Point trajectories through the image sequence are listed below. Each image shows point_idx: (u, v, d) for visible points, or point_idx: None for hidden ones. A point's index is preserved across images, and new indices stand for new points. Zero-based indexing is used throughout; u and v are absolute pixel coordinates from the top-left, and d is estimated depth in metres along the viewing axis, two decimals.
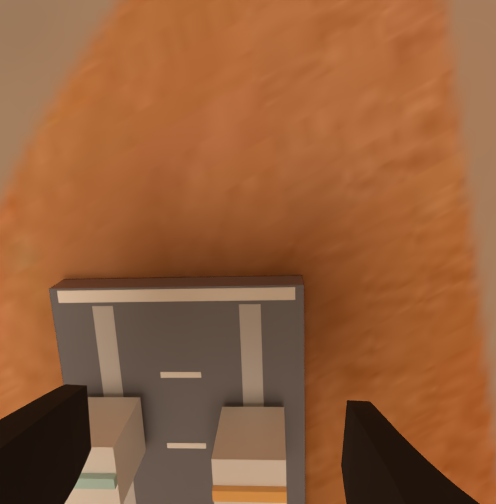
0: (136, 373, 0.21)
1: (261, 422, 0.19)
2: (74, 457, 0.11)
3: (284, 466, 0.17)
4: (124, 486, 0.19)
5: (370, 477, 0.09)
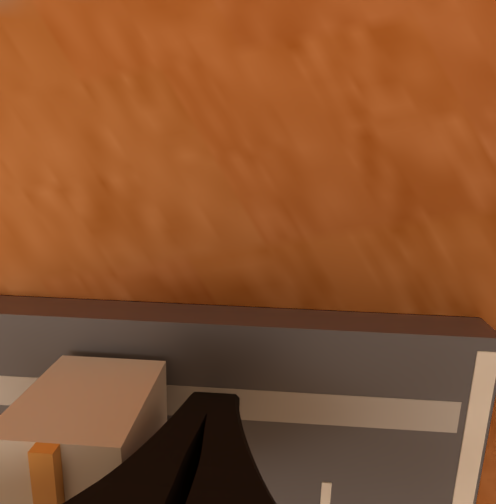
0: None
1: None
2: None
3: None
4: None
5: None
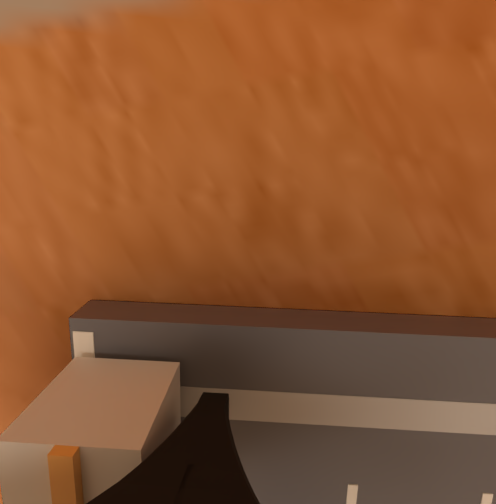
0: None
1: None
2: None
3: (9, 444, 0.09)
4: None
5: None
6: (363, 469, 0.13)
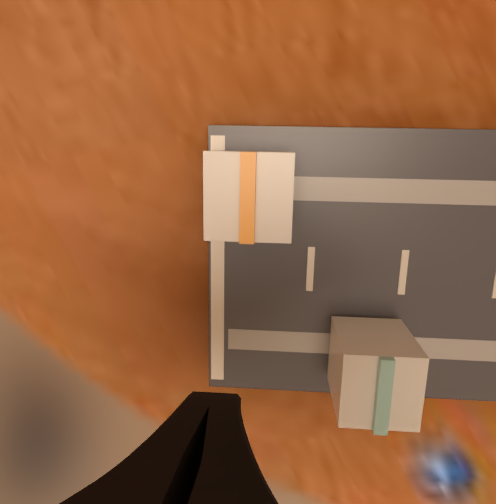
0: (306, 316, 0.19)
1: None
2: None
3: (212, 153, 0.14)
4: (408, 349, 0.16)
5: None
6: (413, 237, 0.18)
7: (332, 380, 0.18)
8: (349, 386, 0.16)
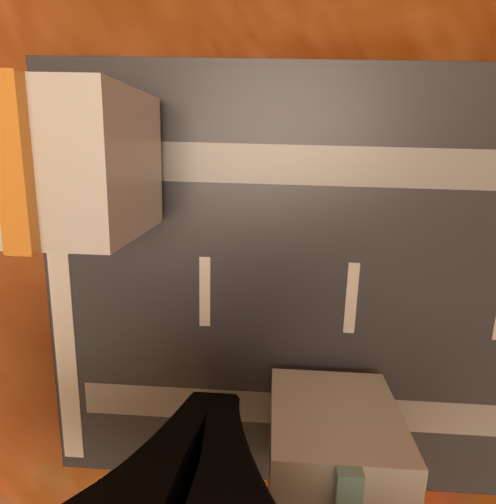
0: (202, 364, 0.12)
1: None
2: None
3: None
4: (390, 447, 0.09)
5: None
6: (366, 242, 0.11)
7: (268, 479, 0.11)
8: None
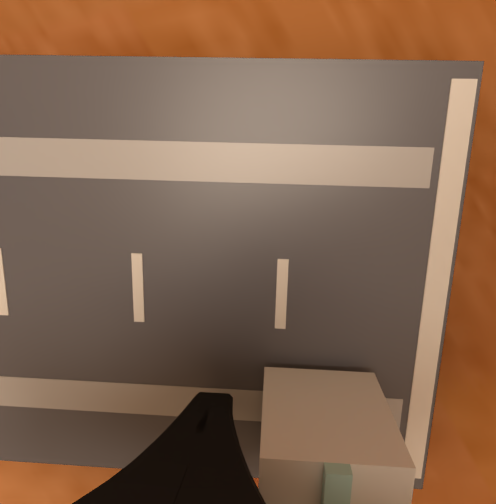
0: (6, 352, 0.13)
1: None
2: None
3: None
4: (378, 445, 0.09)
5: None
6: (146, 234, 0.12)
7: None
8: None
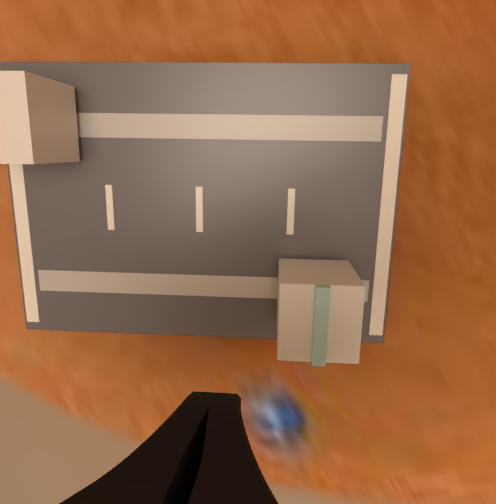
0: (111, 255, 0.20)
1: None
2: None
3: None
4: (346, 280, 0.16)
5: None
6: (205, 174, 0.18)
7: (277, 319, 0.18)
8: (286, 317, 0.15)
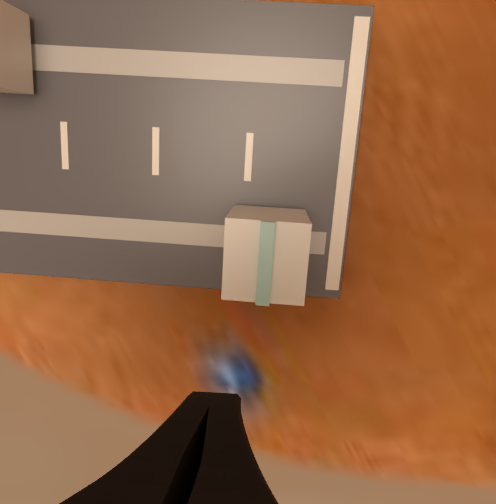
0: (65, 196, 0.19)
1: None
2: None
3: None
4: (294, 219, 0.15)
5: None
6: (162, 114, 0.18)
7: None
8: (231, 253, 0.15)
